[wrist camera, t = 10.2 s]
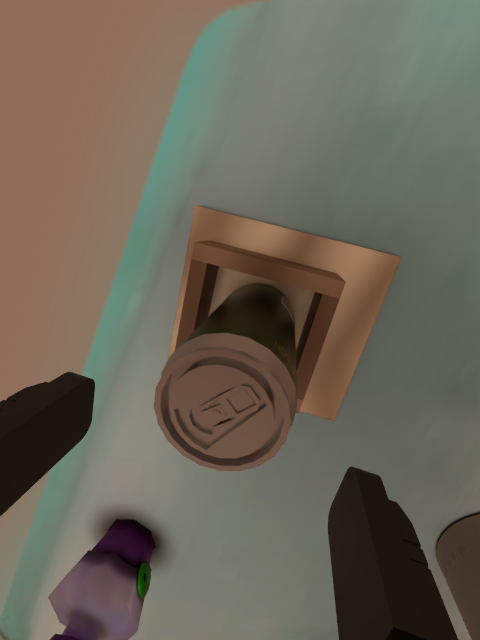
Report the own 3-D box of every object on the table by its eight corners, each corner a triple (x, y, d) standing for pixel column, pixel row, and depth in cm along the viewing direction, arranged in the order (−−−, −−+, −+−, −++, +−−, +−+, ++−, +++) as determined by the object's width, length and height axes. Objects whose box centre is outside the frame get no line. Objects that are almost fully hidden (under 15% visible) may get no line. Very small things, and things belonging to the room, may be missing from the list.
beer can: (268, 267, 20) (238, 312, 9) (309, 329, 21) (328, 442, 10) (208, 307, 22) (119, 388, 11) (248, 364, 23) (205, 495, 12)
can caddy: (395, 255, 20) (424, 262, 16) (332, 412, 24) (340, 453, 20) (200, 206, 21) (175, 200, 17) (171, 363, 25) (146, 392, 21)
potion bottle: (183, 556, 32) (124, 733, 21) (126, 573, 35) (46, 740, 23) (137, 497, 31) (47, 653, 19) (81, 520, 33) (-28, 669, 22)
